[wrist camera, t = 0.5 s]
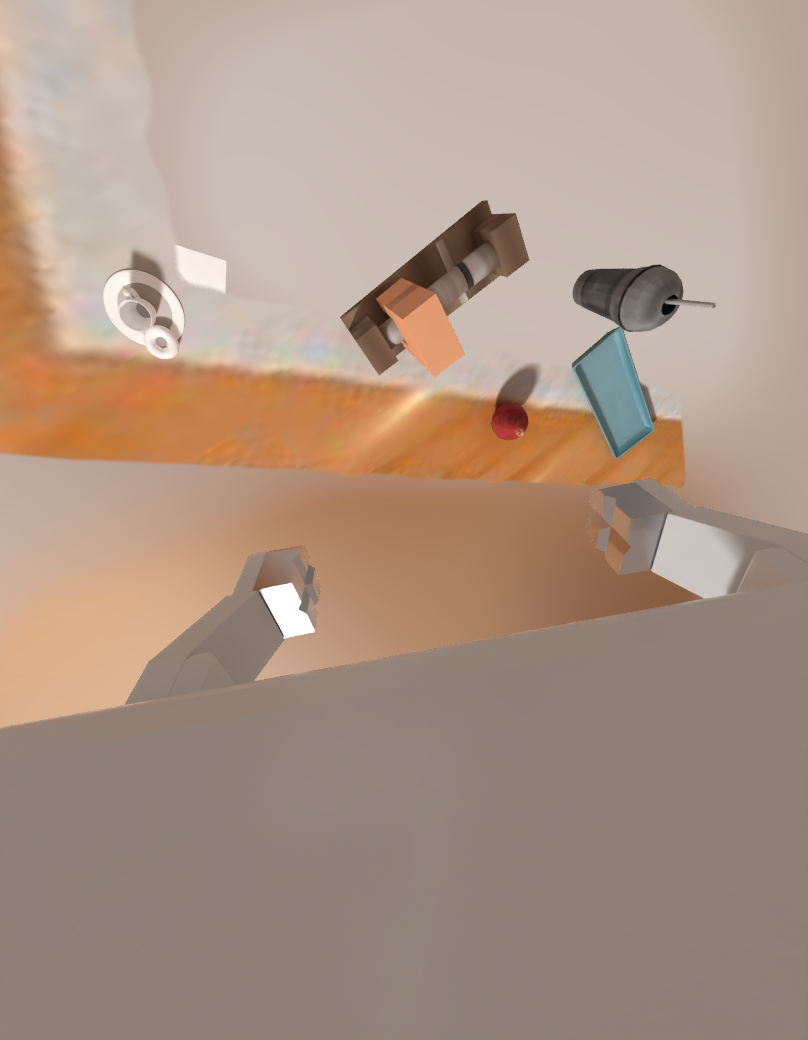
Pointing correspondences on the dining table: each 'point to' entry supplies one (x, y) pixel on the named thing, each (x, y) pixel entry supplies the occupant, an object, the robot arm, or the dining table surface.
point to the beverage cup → (633, 296)
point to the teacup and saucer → (191, 268)
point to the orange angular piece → (422, 325)
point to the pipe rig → (442, 277)
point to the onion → (509, 421)
